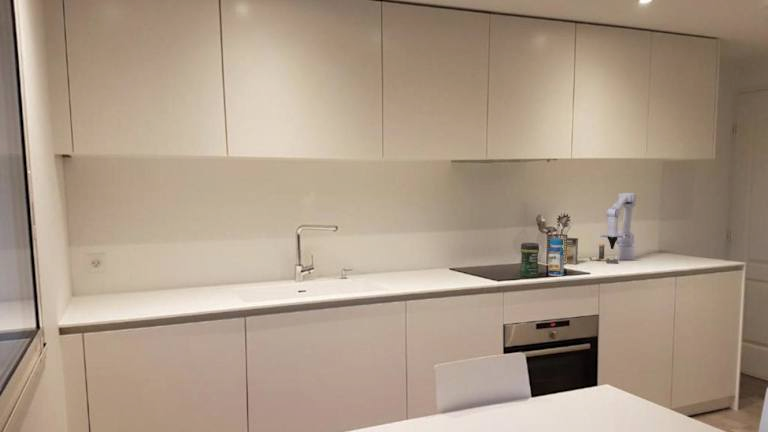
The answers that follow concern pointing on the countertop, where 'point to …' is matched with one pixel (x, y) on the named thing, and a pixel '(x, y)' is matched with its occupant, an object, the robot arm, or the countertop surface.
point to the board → (597, 259)
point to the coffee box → (572, 250)
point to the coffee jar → (529, 260)
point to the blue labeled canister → (556, 258)
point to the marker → (601, 251)
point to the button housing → (612, 261)
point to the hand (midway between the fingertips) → (612, 248)
